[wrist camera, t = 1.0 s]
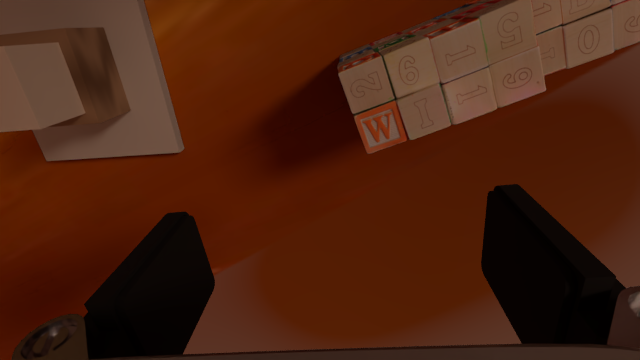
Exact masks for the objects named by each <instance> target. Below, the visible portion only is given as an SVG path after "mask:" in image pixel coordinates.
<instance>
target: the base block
mask: <svg viewBox="0 0 640 360" xmlns="http://www.w3.org/2000/svg"><path fill="white" fill-rule="evenodd" d="M56 42H58V43H59V46H60V48H61V51H62V53H63V56H64V58H65V61H66V64H67V66H68V69H69V71H70V74H71V77H72V79H73V82H74V84H75V87H76V90H77V92H78V95H79V97H80V100H81V102H82V105H83V108H84V110H85V114H82V115H79V116H77V117H74V118H71V119H68V120H65V121H63V122H60V123H57V124H54V125H51V126H48V127H57V126H70V125H83V124H97V123H102V122H104V121H107V120H109V119H111V118H114V117H116V116H119V115H121V114H123V113H126V112H128V111H131V109H130V106H129V103H128V100H127V97H126V94H125V91H124V88H123V85H122V82H121V79H120V76H119V73H118V69H117V66H116V63H115V60H114V57H113V54H112V51H111V48H110V45H109V42H108V39H107V36H106V33H105V30H104V27H93V28H60V29H51V30H41V31H32V32H22V33H13V34H3V35H0V46H13V45H27V44H42V43H56Z"/></svg>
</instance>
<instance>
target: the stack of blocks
mask: <svg viewBox="0 0 640 360" xmlns="http://www.w3.org/2000/svg"><path fill="white" fill-rule="evenodd" d="M637 42H640V0H475V1H472V2H470V3H467V4H466V5H464V6H462V7H460V8H457V9H455V10H452V11H450V12H448V13H445V14H443V15H440V16H438V17H435V18H433V19H431V20H429V21H426V22H424V23H421V24H419V25H416V26H414V27H412V28H409V29H407V30H404V31H402V32H398V33H395V34H392V35H390V36H388V37H385V38H383V39H380V40H378V41H375V42H373V43H370V44H367V45H365V46H362V47H360V48H357V49H355V50H352V51H350V52H347V53H345V54H342V55H340V58H339V63H338V66H337V70H338V75H339V78H340V81H341V84H342V86H343V89H344V92H345V95H346V98H347V100H348V103H349V106H350V109H351V112H352V114H354V119H355V122H356V125H357V128H358V130H359V133H360V136H361V139H362V141H363V144H364V147H365V149H366V152H367V154H370V153H373V152H376V151H379V150H382V149H384V148H387V147H390V146H393V145H396V144H399V143H401V142H404V141H406V140H408V139H409V140H414V139H416V138H419V137H422V136H424V135H427V134H430V133H432V132H435V131H438V130H441V129H443V128H446V127H448V126H450V125H451V124H454V125H455V124H459V123H462V122H465V121H467V120H470V119H473V118H475V117H478V116H481V115H483V114H486V113H489V112H492V111H494V110H496V109H497V108H499V107H504V106H506V105H509V104H512V103H514V102H517V101H520V100H523V99H525V98H528V97H531V96H533V95H536V94H539V93H541V92H544V91H546V87H545V81H544V76H546V75H549V74H552V73H554V72H557V71H560V70H563V69H569V68H572V67H575V66H577V65H580V64H583V63H586V62H589V61H592V60H594V59H597V58H600V57H603V56H605V55H608V54H611V53H613V52H614V50H617V49H620V48H624V47H626V46H629V45H632V44H635V43H637Z"/></svg>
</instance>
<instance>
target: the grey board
mask: <svg viewBox="0 0 640 360" xmlns="http://www.w3.org/2000/svg"><path fill="white" fill-rule="evenodd" d="M93 27H104V30H105V33H106V36H107V39H108V42H109V45H110V48H111V51H112V54H113V57H114V60H115V63H116V66H117V69H118V73H119V76H120V79H121V82H122V85H123V88H124V91H125V94H126V97H127V100H128V103H129V106H130V109H131V111H128V112H126V113H123V114H121V115H119V116H116V117H114V118H111V119H109V120H107V121H104V122H102V123H97V124H83V125H70V126H57V127H46V128H43V129H36V130H32V131H33V133H34V135H35V137H36V139H37V142H38V144H39V146H40V148H41V150H42V152H43V155H44V157H45V159H46V161H58V160H73V159H88V158H104V157H119V156H134V155H149V154H165V153H180V152H181V151H182V150H183V149H184V146H183V142H182V138H181V135H180V131H179V128H178V124H177V120H176V117H175V113H174V109H173V106H172V102H171V98H170V95H169V91H168V87H167V84H166V80H165V76H164V73H163V69H162V65H161V62H160V58H159V54H158V51H157V47H156V43H155V40H154V36H153V33H152V29H151V25H150V22H149V18H148V14H147V11H146V7H145V3H144V0H0V35H3V34H13V33H22V32H32V31H41V30H51V29H60V28H93Z"/></svg>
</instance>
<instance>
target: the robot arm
mask: <svg viewBox="0 0 640 360" xmlns="http://www.w3.org/2000/svg"><path fill="white" fill-rule="evenodd" d="M481 265H482V271H483V274H484V276H485V278H486V279H487V281H488V283H489V285H490V287H491V289H492V290H493V292H494V294H495V296H496V298H497V299H498V301H499V303H500V305H501V307H502V308H503V310H504V312H505V314H506V316H507V317H508V319H509V321H510V323H511V325H512V327H513V328H514V330H515V332H516V334H517V335H518V337H519V339H520V341H521V343H522V344H490V345H489V344H487V345H450V346H449V345H448V346H412V347H377V348H345V349H315V350H286V351H257V352H232V353H209V354H208V353H207V354H183V352H184V350H185V348H186V346H187V344H188V342H189V340H190V338H191V336H192V333H193V331H194V329H195V327H196V325H197V323H198V321H199V319H200V317H201V315H202V313H203V310H204V308H205V306H206V304H207V302H208V300H209V298H210V296H211V294H212V292H213V289H214V286H215V280H214V276H213V273H212V270H211V267H210V264H209V261H208V258H207V255H206V252H205V249H204V246H203V243H202V240H201V237H200V234H199V231H198V228H197V225H196V222H195V220H194V218H193V216H189V214H188V213H187V212H175V213H167V214H166V215H165V216H164V217H163V218H162V219H161V220H160V221H159V223H158V224H157V225H156V226H155V227H154V228H153V229H152V230H151V231H150V232H149V234H148V235H147V236H146V237H145V238H144V239H143V240H142V241H141V242H140V243H139V245H138V246H137V247H136V248H135V249H134V250H133V251H132V252H131V253H130V254H129V256H128V257H127V258H126V259H125V260H124V261H123V262H122V263H121V264H120V265H119V266H118V268H117V269H116V270H115V271H114V272H113V273H112V274H111V275H110V276H109V277H108V279H107V280H106V281H105V282H104V283H103V284H102V285H101V286H100V287H99V288H98V290H97V291H96V292H95V293H94V294H93V295H92V296H91V297H90V298H89V299H88V301H87V302H86V303H85V304H84V305H85V307H86V309H87V310H88V313H87V314H86V315H85V317H84V318H83V317H82V316H80V315H78V314H68V315H63V316H60V317H57V318H54V319H52V320H50V321H48V322H46V323H44V324H42V325H40V326H39V327H37V328H36V329H35V330H33V331H32V332H30V333H29V334H28V335H27V336H26V337H25V338H24V339H23V340H21V342H20V343H19V344H18V345H17V347H16V348H15V350H14V352H13V355H12V360H640V286H635V287H629V288H625V287H624V286H623V285H622V284H621V283H620V282H619V281H618V280H617V279H616V276H615V275H614V274H613V273H612V272H611V271H610V270H609V269H608V268H607V267H606V266H605V265H604V264H602V263H601V262H600V261H599V260H598V259H597V258H596V257H595V256H594V255H593V254H592V253H591V252H590V251H589V250H587V249H586V248H585V247H584V246H583V245H582V244H581V243H580V242H579V241H578V240H577V239H576V238H575V237H574V236H573V235H572V234H570V233H569V232H568V231H567V230H566V229H565V228H564V227H563V226H562V225H561V224H560V223H559V222H558V221H557V220H556V219H554V218H553V217H552V216H551V215H550V214H549V213H548V212H547V211H546V210H545V209H544V208H542V207H541V205H539V204H538V203H537V202H536V201H535V200H534V199H533V198H532V197H531V196H530V195H529V194H528V193H527V192H526V191H525V190H524V189H522V188H521V187H520V186H519V185H517V184H513V185H501V186H496V187H495V188H494V191H490V192H489V193H488V196H487V207H486V218H485V228H484V239H483V250H482V261H481Z"/></svg>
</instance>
